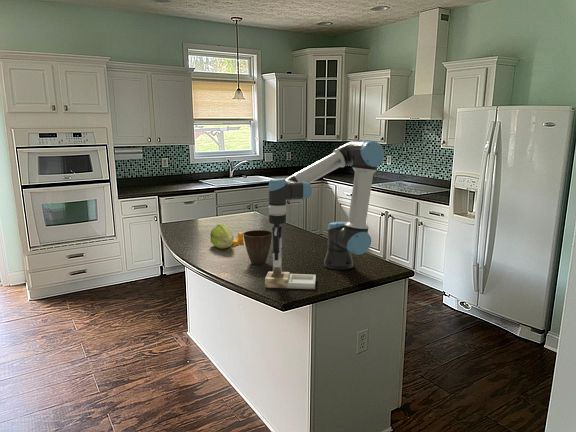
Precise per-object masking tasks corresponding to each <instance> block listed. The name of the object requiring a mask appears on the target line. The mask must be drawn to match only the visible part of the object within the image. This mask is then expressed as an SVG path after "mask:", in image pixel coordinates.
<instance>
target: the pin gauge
mask: <svg viewBox="0 0 576 432" xmlns="http://www.w3.org/2000/svg"><path fill="white" fill-rule="evenodd" d="M282 240H283V239H282V237H281V238H280V243H279V251H280V267H274V253H272V272H273V274H281V273H282V272H283V270H282V269H283V268H282V265H283V264H282V261H283V260H282V257H283V255H282V253H283V251H282V250H283V249H282V247H283V245H282V242H283V241H282Z"/></svg>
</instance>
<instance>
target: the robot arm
mask: <svg viewBox="0 0 576 432" xmlns="http://www.w3.org/2000/svg"><path fill="white" fill-rule="evenodd" d="M384 159H385V150H384V148H383V146H382V145H381V143H379V142H378V141H376V140H375V141H374V140H371V139H370V140H368V139H367V140H364V139H363V140H362V139H354V140H351V141H348V142H347V143H345V144H343V145H341V146H339V147H338V148H335V149H334V150H333V151H332V153H330V154H329V155H326V156H325V157H323V158H321V159H320V160H317V161H315V162H314V163H312V164H310V165H308V166H307V167H304V168H303V169H301V170H299V171H297V172H295V173H294V174H292V175H290V176H288V177H286V178H270V179H269V181H268V206H267V209H268V223H269V224H271V225H272V224H273V226H272V229H271V230H272V231H271V232H272V251H271V253H272V254H273V253H274V267H280V251H279V243H280V238H282V236H283V235H282V234H283V231H282V230H283V226H282V225H284V224H285V223H286V222H287V216H286V214H287V201H290V200H291V201H292V200H294V201H295V200H306V199H307V200H308V199H310V198H311V197H312V194H313V193H312V192H313V191H312V190H313V188H312V185H311V184H312V183H314V182H316V181H317V180H319V179H320V178H322V177H324V176H326V175H327V174H329V173H332V172H333V171H335V170H337V169H339V168H345V167H347V166H349V165H352V169H353V171H354V177H353V183H352V191H351V198H350V204H349V205H350V206H349V212H348V220H347V221H332V222H330V223H328V224H327V250H326V251H327V252H326V255H325V256H324V261H323V266H324V267H325V268H327V269H331V270H338V271H340V270H342V271H343V270H349V269H351V268H353V267H354V261H353V256H352V255H355V256H356V255H358V256H359V255H363V254H365V253H366V252H367V251H369V249H370V247H371V245H372V237H371V236H370V234H369V233H368V232H369V226H368V224H367V217H368V212H369V206H370V205H369V204H370V199H371V198H370V197H371V191H372V183H373V178H374V174H375V173H376V172H377V171H378V167H379V166H381V163H383V162H384ZM283 249H284V248H283V246H282V250H283Z"/></svg>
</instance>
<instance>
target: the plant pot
mask: <svg viewBox="0 0 576 432" xmlns="http://www.w3.org/2000/svg"><path fill="white" fill-rule="evenodd" d="M272 232H273V231H269V230H263V229H262V230H261V229H255V230H248V231H245V232H242V233H243V242H244V244H245V248H246V251H247V252H246V253H247V255H248V259H249V260H250V263H251V264H252V265H255V266H256V265H257V266H260V265H264V264H266V263H267V260H268V256H269V254H270V249H271V243H272V240H273V233H272Z"/></svg>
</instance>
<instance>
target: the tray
mask: <svg viewBox="0 0 576 432" xmlns="http://www.w3.org/2000/svg"><path fill="white" fill-rule="evenodd" d="M316 275H317V274H311V273H310V274H309V273H307V274H305V273H302V274H301V273H290V276H289V279H288V288H287V289H303V290H315V289H316V280H317V276H316Z"/></svg>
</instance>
